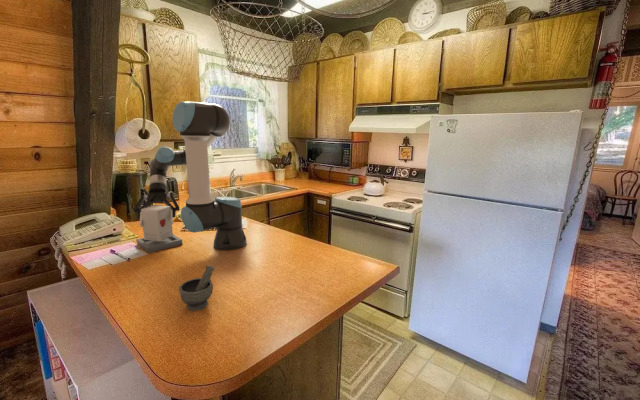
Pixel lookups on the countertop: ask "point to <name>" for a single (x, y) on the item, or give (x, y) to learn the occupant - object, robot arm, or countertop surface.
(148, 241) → the charcoal tray
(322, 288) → the countertop surface
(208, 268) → the mortar and pestle
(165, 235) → the supplement box
